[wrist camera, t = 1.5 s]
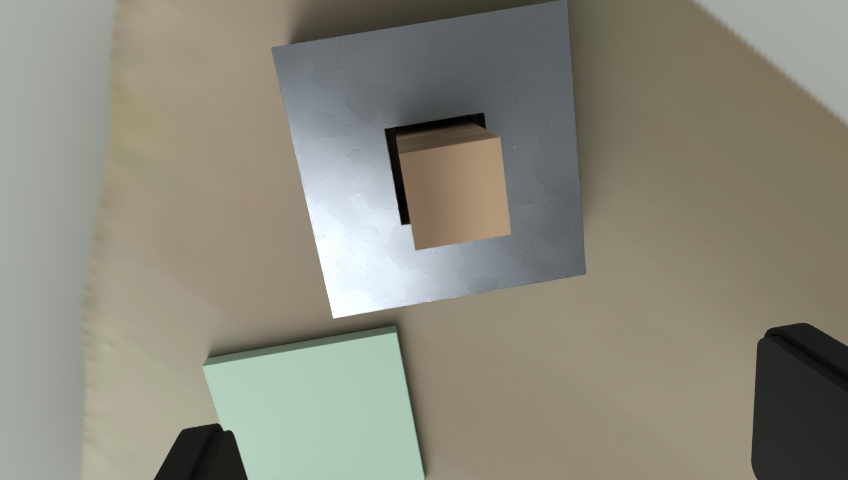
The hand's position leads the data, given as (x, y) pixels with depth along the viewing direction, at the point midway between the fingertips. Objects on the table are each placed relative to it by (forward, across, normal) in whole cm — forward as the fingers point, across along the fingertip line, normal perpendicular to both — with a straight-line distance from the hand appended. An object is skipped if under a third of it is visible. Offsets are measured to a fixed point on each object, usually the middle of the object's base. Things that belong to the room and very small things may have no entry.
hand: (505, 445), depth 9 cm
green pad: (+23, +9, +15) cm, 29 cm away
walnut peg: (+23, -1, -1) cm, 23 cm away
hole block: (+23, -1, -1) cm, 23 cm away
